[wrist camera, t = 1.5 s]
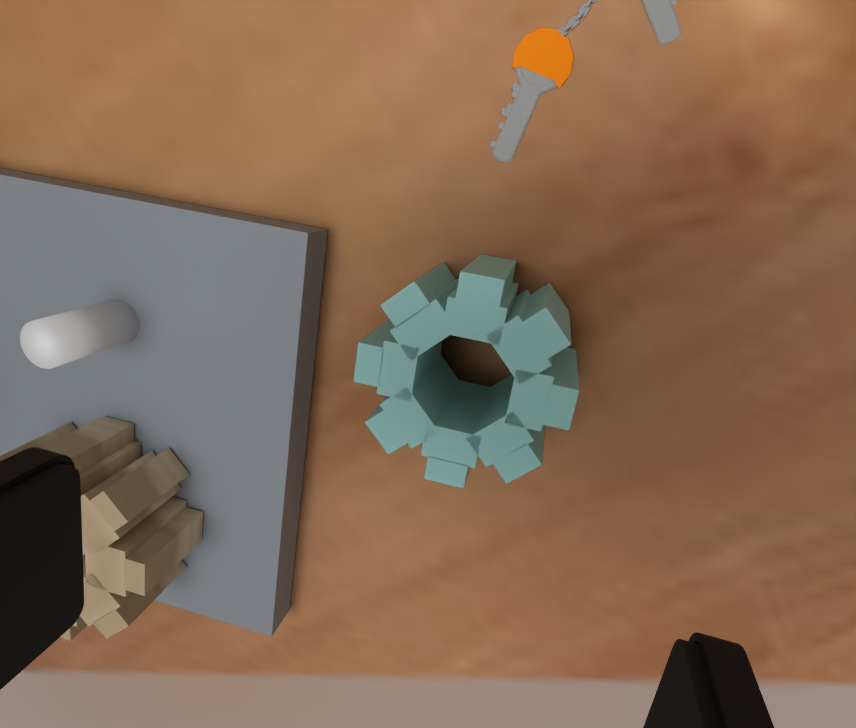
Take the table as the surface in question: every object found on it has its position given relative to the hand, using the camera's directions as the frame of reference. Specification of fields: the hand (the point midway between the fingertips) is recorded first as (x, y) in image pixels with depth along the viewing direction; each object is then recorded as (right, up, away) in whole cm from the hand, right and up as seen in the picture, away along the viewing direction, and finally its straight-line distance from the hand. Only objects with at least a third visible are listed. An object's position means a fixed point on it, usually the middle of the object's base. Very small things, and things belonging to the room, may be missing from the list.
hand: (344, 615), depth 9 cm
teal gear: (+3, +4, +15) cm, 16 cm away
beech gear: (-13, -3, +19) cm, 23 cm away
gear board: (-12, +2, +19) cm, 23 cm away
